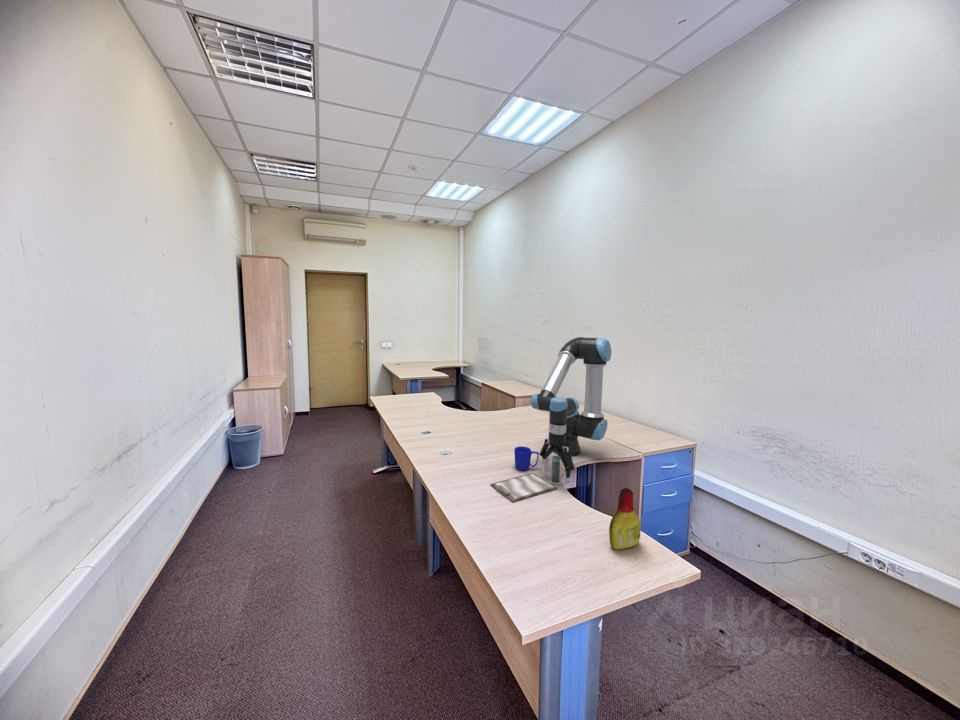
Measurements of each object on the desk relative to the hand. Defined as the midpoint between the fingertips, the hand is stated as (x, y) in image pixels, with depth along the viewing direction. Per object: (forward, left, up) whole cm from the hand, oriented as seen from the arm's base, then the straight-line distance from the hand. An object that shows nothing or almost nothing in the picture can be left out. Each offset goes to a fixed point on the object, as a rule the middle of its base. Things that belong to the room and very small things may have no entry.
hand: (555, 477), depth 164 cm
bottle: (+11, +45, -3) cm, 46 cm away
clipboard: (+15, -4, -3) cm, 16 cm away
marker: (0, 0, -3) cm, 3 cm away
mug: (+2, -19, -3) cm, 19 cm away
